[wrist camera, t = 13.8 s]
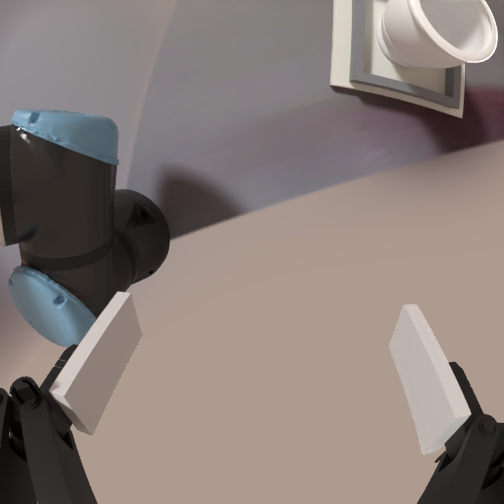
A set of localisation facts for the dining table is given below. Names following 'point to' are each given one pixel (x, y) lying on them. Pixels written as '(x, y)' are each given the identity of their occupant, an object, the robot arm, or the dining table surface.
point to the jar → (437, 32)
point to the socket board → (386, 63)
